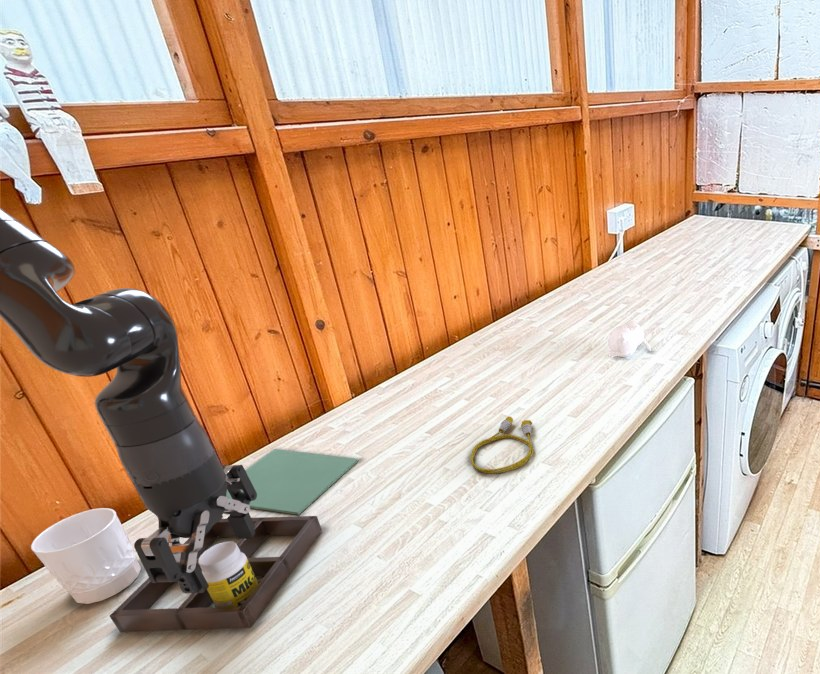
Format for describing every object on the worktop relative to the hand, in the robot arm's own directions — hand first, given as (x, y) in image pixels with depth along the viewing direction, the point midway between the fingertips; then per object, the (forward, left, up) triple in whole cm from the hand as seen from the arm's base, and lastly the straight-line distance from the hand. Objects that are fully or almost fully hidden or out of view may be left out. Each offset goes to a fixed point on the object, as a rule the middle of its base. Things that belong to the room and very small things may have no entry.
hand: (224, 562), depth 67 cm
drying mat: (-14, +22, -7) cm, 27 cm away
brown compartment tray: (-5, +3, -7) cm, 9 cm away
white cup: (-21, -1, -7) cm, 22 cm away
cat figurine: (+35, +81, -7) cm, 88 cm away
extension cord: (+21, +37, -7) cm, 43 cm away
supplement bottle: (0, 0, -7) cm, 7 cm away
